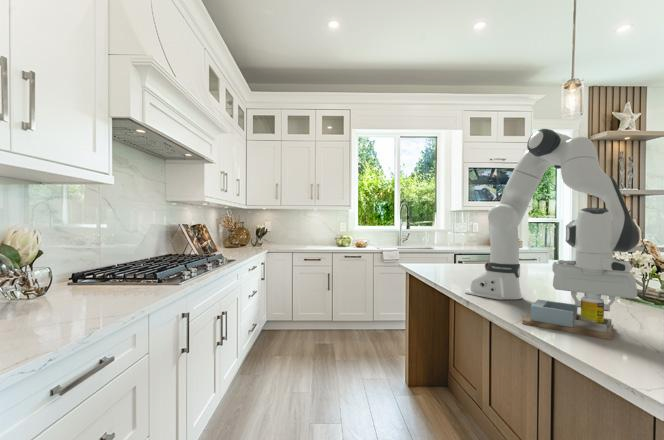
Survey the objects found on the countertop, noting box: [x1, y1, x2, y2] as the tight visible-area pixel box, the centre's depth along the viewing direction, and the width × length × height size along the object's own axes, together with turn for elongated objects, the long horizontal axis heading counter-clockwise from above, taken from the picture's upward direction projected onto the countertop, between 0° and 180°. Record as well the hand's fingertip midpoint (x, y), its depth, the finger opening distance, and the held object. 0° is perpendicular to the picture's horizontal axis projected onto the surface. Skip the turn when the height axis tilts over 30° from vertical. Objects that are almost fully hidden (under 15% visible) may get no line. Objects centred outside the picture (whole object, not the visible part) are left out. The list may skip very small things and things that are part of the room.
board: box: [522, 312, 614, 341], centre depth 111 cm, size 22×14×3 cm, turn 50°
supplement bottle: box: [580, 293, 605, 324], centre depth 107 cm, size 6×6×10 cm
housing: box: [530, 299, 579, 327], centre depth 113 cm, size 11×12×4 cm
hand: (592, 308), depth 107 cm, fingers closed on supplement bottle, 5 cm apart
